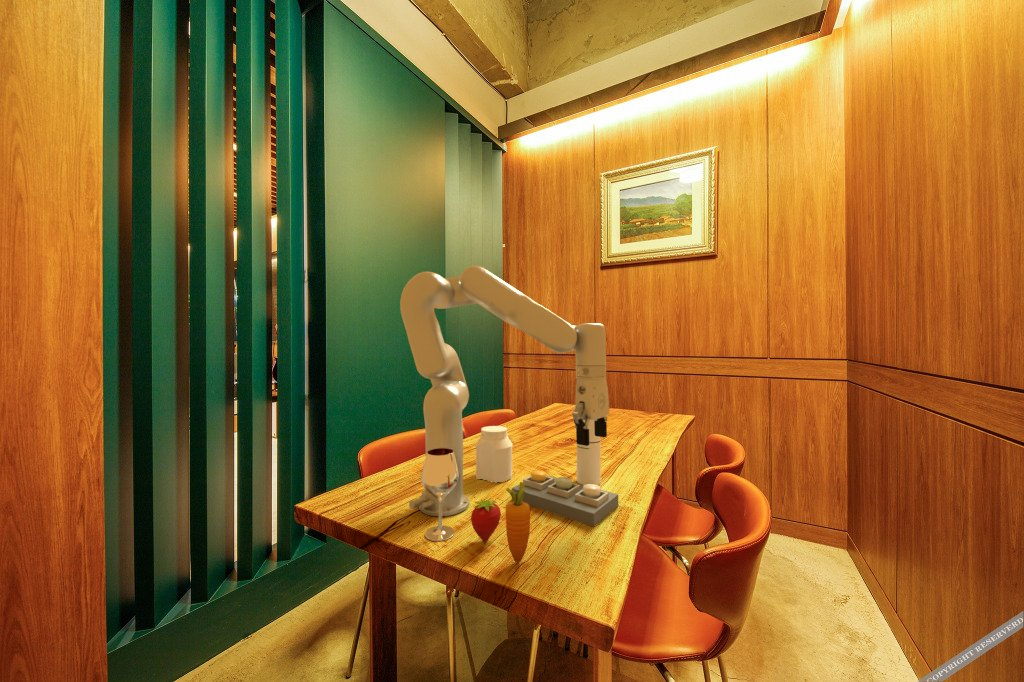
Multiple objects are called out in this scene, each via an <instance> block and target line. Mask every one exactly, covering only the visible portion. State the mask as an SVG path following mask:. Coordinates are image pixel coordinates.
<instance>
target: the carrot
mask: <svg viewBox="0 0 1024 682" xmlns="http://www.w3.org/2000/svg"><path fill="white" fill-rule="evenodd" d="M519 484H520V486H519V494H518V498H517V493H514V491H513V490H512V489H511V488H509V487H506V489H505V490H506V491H507V493H509V495H510V497H511V500H512V499H513V500H512V501H511V502H508V503H507V504H506V506H505V528H506V529H505V530H506V538H507V544H508V549H509V551H510V555H511V556H512V559H513V560H514V562H515V563H516V564H520V563H521V562H522V560H523V559H524V556H525V553H526V551H527V548H528V545H529V544H528V542H529V538H530V530H531V509H530V507H531V506H530V505H528V504H527V503H525V502H523V501H522V498H523V494H524V492H525V489H524V483H523V481H520V482H519Z"/></svg>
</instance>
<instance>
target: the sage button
mask: <svg viewBox="0 0 1024 682" xmlns="http://www.w3.org/2000/svg"><path fill="white" fill-rule="evenodd" d="M555 478H556V487H558V488H561V489H569V488H571V487H572V482H573V479H572V478H570V477H568V476H560V477H555Z"/></svg>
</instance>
